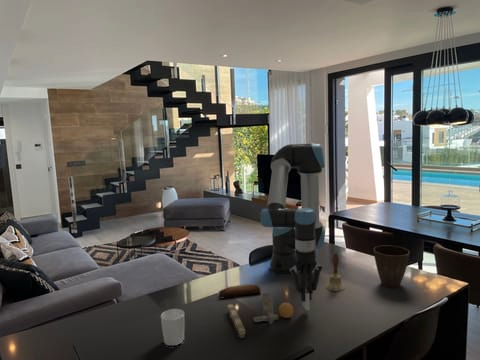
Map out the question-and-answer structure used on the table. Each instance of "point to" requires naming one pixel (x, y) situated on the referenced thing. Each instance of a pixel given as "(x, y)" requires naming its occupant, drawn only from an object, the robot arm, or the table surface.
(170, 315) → the white cup
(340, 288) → the hand bell
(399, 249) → the plant pot
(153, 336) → the table surface
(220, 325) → the table surface
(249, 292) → the sunglasses case
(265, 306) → the pin
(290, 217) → the robot arm
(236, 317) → the grey long bar
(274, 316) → the front pin
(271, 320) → the pin
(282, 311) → the ball
